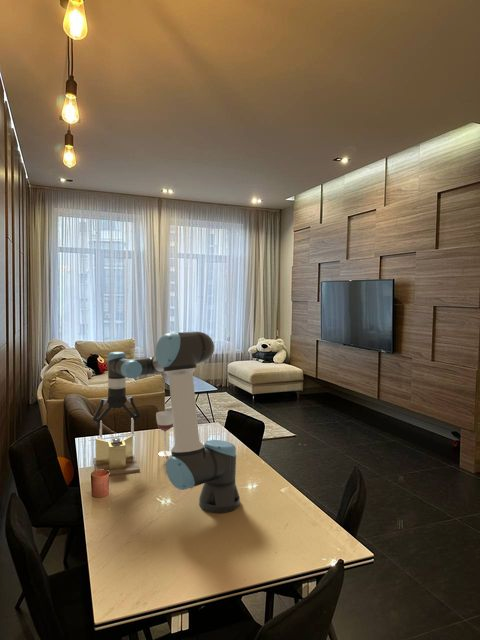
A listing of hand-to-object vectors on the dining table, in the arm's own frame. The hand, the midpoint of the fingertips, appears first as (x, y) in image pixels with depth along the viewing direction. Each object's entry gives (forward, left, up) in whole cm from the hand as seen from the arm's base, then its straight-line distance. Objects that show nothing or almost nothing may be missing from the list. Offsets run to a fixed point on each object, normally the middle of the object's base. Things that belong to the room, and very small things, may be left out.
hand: (116, 434), depth 196 cm
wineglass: (+11, -24, -15) cm, 31 cm away
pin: (0, 0, -14) cm, 14 cm away
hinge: (+3, 0, -14) cm, 14 cm away
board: (+3, 0, -15) cm, 15 cm away
